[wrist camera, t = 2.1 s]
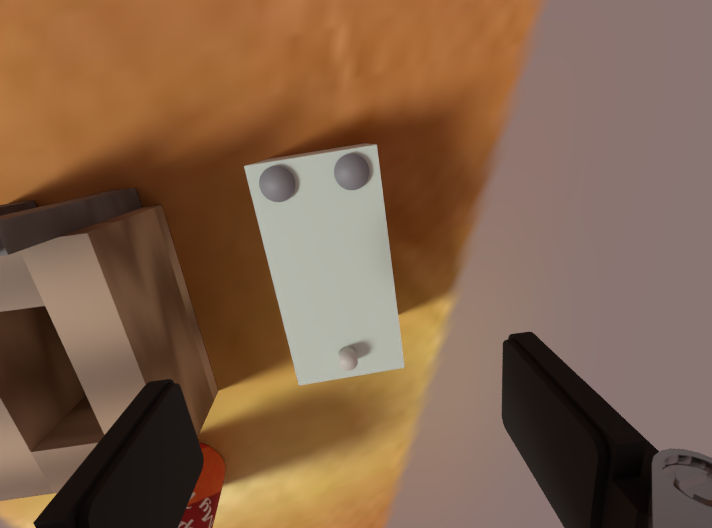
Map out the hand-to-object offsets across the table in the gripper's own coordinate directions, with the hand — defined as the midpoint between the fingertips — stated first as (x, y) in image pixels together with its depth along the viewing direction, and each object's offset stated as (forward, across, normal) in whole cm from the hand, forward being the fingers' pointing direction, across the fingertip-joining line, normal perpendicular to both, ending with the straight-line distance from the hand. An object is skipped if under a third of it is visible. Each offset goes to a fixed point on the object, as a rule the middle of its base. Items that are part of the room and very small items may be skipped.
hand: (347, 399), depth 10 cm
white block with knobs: (+14, 0, -1) cm, 14 cm away
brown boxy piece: (+14, +16, +2) cm, 21 cm away
